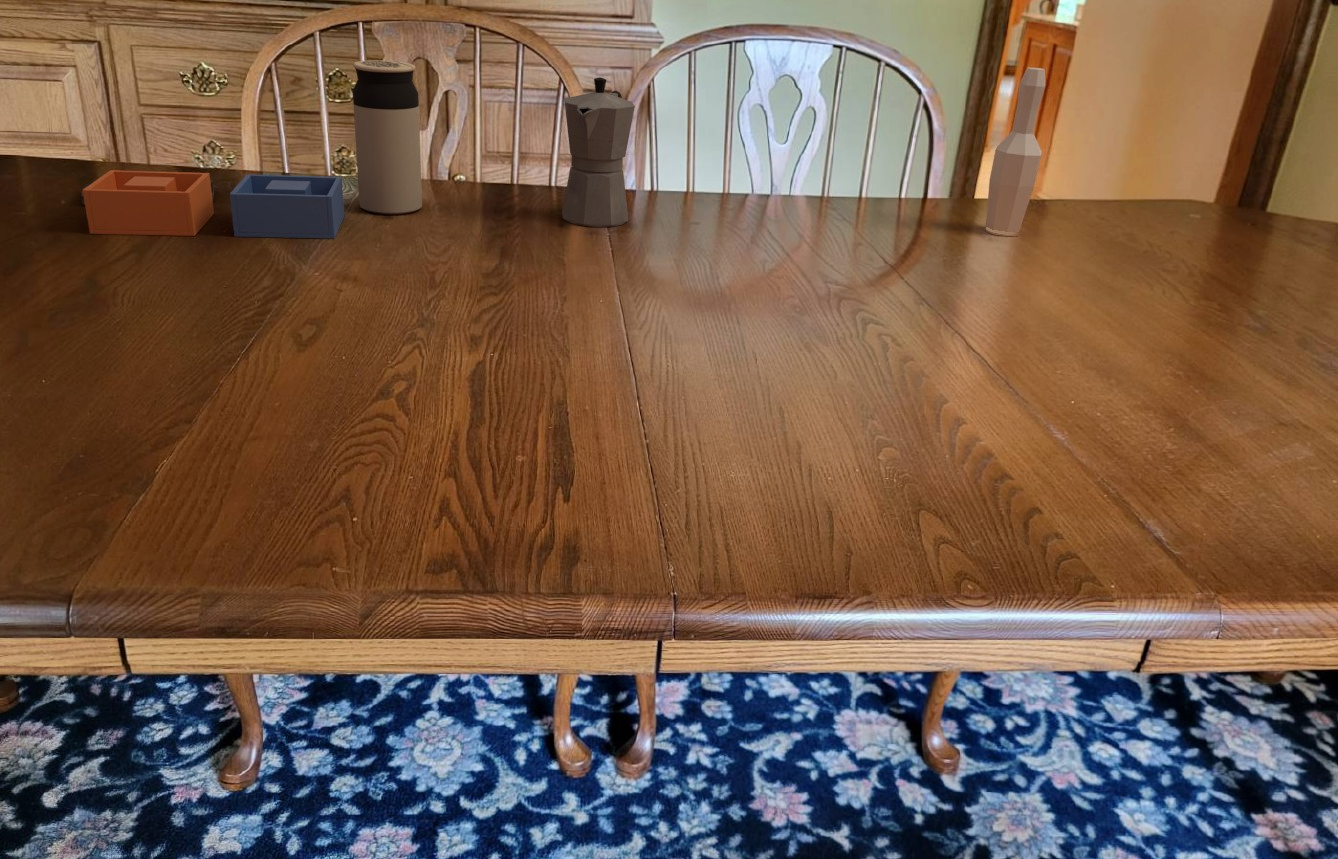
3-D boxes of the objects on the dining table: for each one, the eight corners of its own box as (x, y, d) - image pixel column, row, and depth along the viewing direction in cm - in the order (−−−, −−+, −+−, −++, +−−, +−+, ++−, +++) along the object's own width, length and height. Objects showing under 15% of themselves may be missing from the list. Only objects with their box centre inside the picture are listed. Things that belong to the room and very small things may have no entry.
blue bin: (234, 236, 122) (229, 193, 120) (250, 214, 131) (246, 174, 129) (334, 238, 124) (331, 196, 122) (344, 216, 133) (341, 176, 131)
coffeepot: (614, 235, 133) (620, 87, 126) (544, 225, 135) (546, 79, 128) (646, 208, 147) (654, 74, 139) (582, 200, 149) (587, 67, 141)
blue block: (268, 226, 125) (265, 188, 123) (275, 216, 129) (271, 180, 127) (308, 227, 126) (305, 189, 124) (313, 217, 130) (310, 181, 128)
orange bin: (89, 233, 119) (82, 189, 117) (117, 211, 128) (110, 170, 126) (194, 236, 121) (189, 192, 119) (214, 213, 130) (209, 172, 128)
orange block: (129, 223, 122) (123, 184, 120) (140, 213, 126) (134, 176, 124) (170, 224, 123) (165, 186, 121) (180, 214, 127) (175, 177, 125)
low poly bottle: (1030, 239, 146) (1067, 73, 136) (984, 236, 146) (1018, 69, 136) (1018, 227, 151) (1052, 67, 142) (974, 224, 151) (1005, 64, 142)
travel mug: (367, 217, 133) (359, 68, 126) (353, 202, 140) (344, 59, 132) (429, 213, 137) (425, 68, 129) (413, 199, 143) (407, 60, 135)
